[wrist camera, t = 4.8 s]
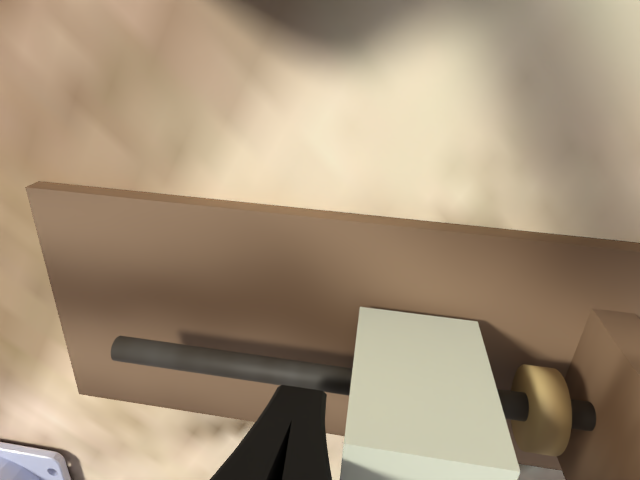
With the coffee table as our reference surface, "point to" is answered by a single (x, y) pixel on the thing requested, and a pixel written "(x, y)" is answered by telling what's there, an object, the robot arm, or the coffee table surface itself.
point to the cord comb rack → (341, 311)
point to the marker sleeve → (423, 403)
